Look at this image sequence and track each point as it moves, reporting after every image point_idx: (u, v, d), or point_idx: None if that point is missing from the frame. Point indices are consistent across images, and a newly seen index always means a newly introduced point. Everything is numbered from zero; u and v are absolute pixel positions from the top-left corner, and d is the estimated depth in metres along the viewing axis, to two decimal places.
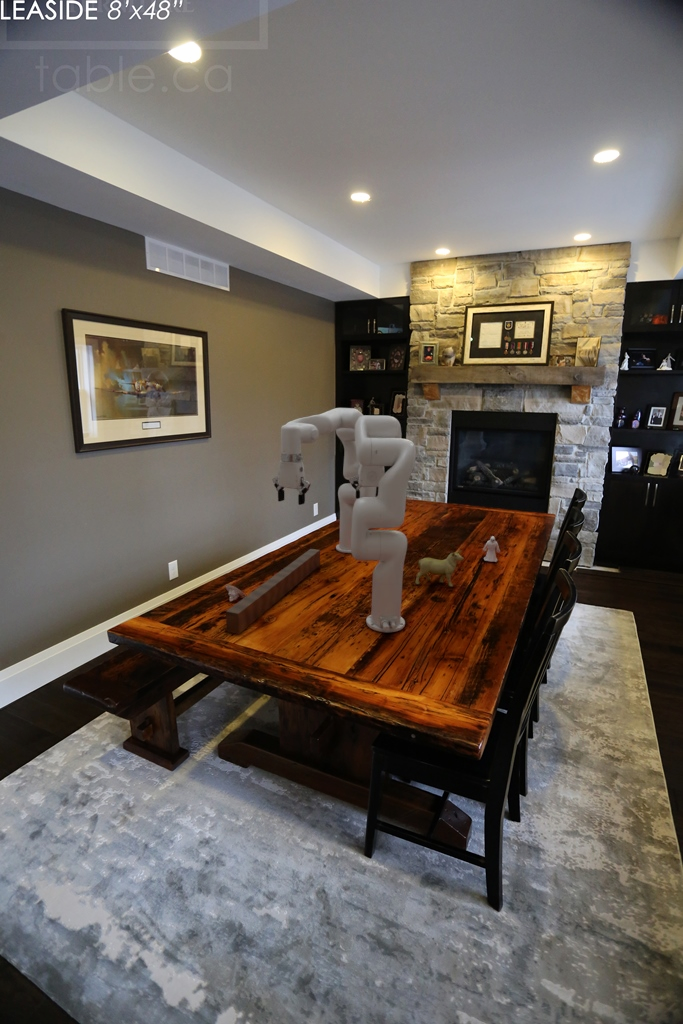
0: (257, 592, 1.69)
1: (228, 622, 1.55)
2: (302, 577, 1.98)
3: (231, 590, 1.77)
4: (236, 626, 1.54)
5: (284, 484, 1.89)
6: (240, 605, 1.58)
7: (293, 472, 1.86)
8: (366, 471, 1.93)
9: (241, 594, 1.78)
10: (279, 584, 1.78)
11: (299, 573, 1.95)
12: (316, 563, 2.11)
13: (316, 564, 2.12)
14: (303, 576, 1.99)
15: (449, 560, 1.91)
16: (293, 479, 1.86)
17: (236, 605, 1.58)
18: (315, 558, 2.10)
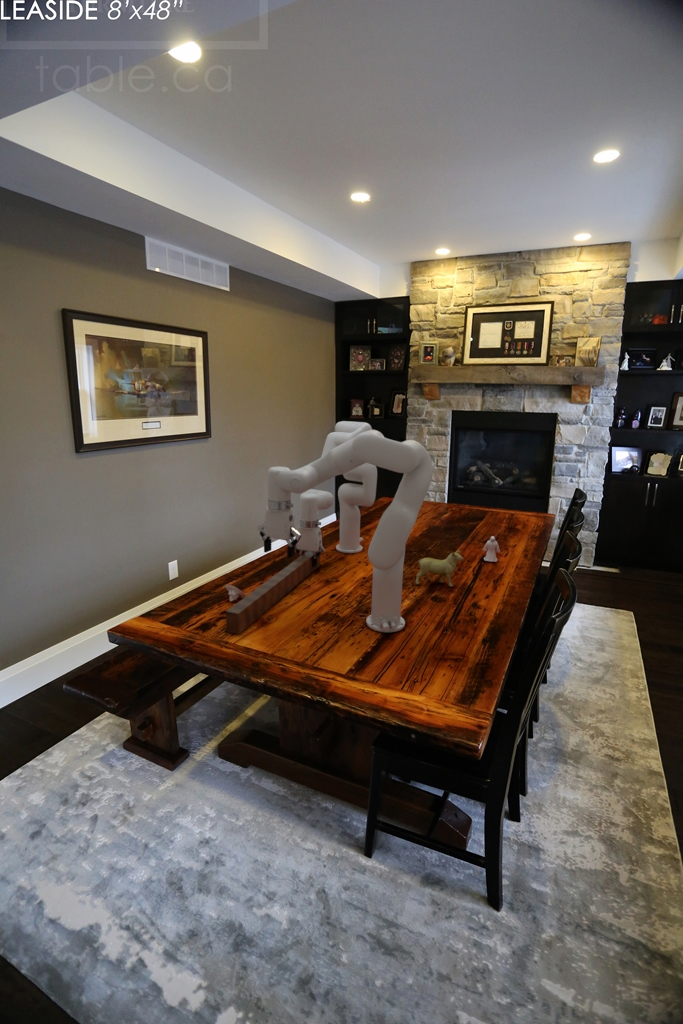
0: (257, 592, 1.69)
1: (228, 622, 1.55)
2: (302, 577, 1.98)
3: (231, 590, 1.77)
4: (236, 626, 1.54)
5: (303, 547, 2.05)
6: (240, 605, 1.58)
7: (313, 537, 2.03)
8: None
9: (241, 594, 1.78)
10: (279, 584, 1.78)
11: (299, 573, 1.95)
12: None
13: None
14: (303, 576, 1.99)
15: (449, 560, 1.91)
16: (313, 543, 2.03)
17: (236, 605, 1.58)
18: None
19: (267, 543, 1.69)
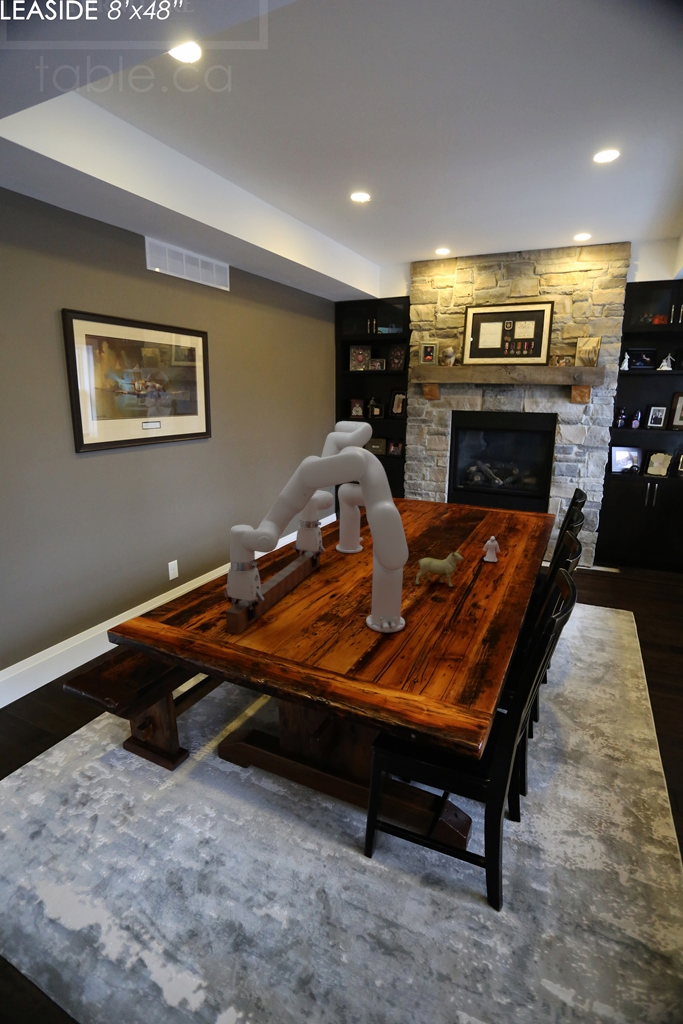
0: None
1: (228, 622, 1.55)
2: (302, 577, 1.98)
3: None
4: (236, 626, 1.54)
5: (303, 547, 2.05)
6: (240, 605, 1.58)
7: (313, 537, 2.03)
8: None
9: None
10: (279, 584, 1.78)
11: (299, 573, 1.95)
12: None
13: None
14: (303, 576, 1.99)
15: (449, 560, 1.91)
16: (312, 543, 2.03)
17: (236, 605, 1.58)
18: None
19: None
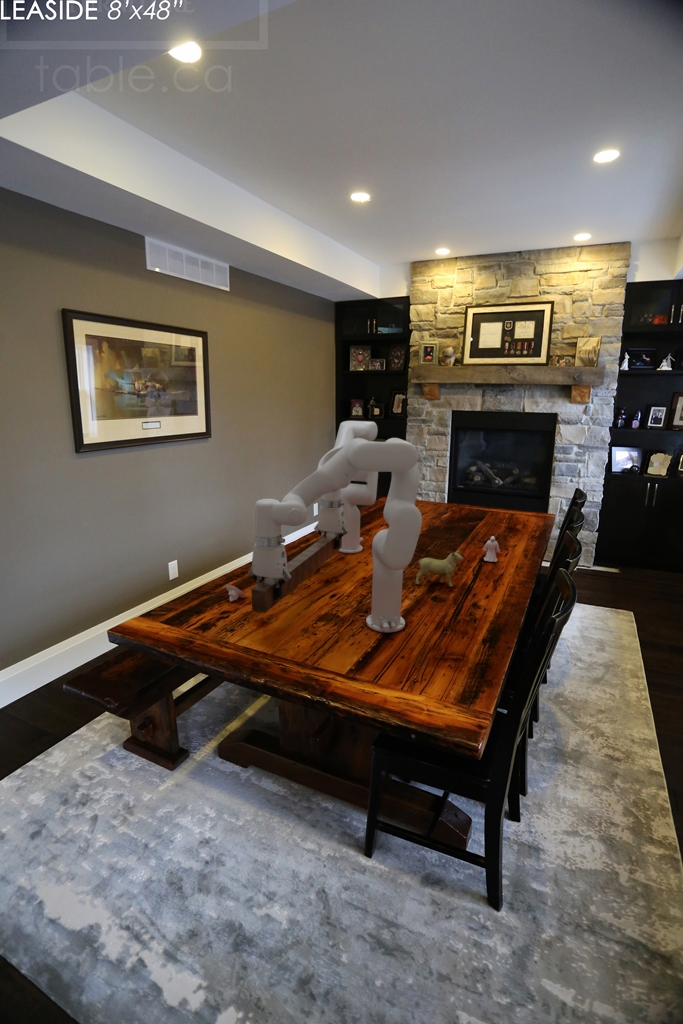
0: None
1: (254, 600, 1.47)
2: (325, 558, 1.91)
3: (231, 590, 1.77)
4: (262, 604, 1.47)
5: (325, 528, 1.98)
6: (266, 583, 1.51)
7: (335, 517, 1.95)
8: None
9: (241, 594, 1.78)
10: (303, 564, 1.71)
11: (322, 554, 1.88)
12: None
13: None
14: (326, 557, 1.92)
15: (449, 560, 1.91)
16: (335, 524, 1.96)
17: (261, 583, 1.51)
18: None
19: None
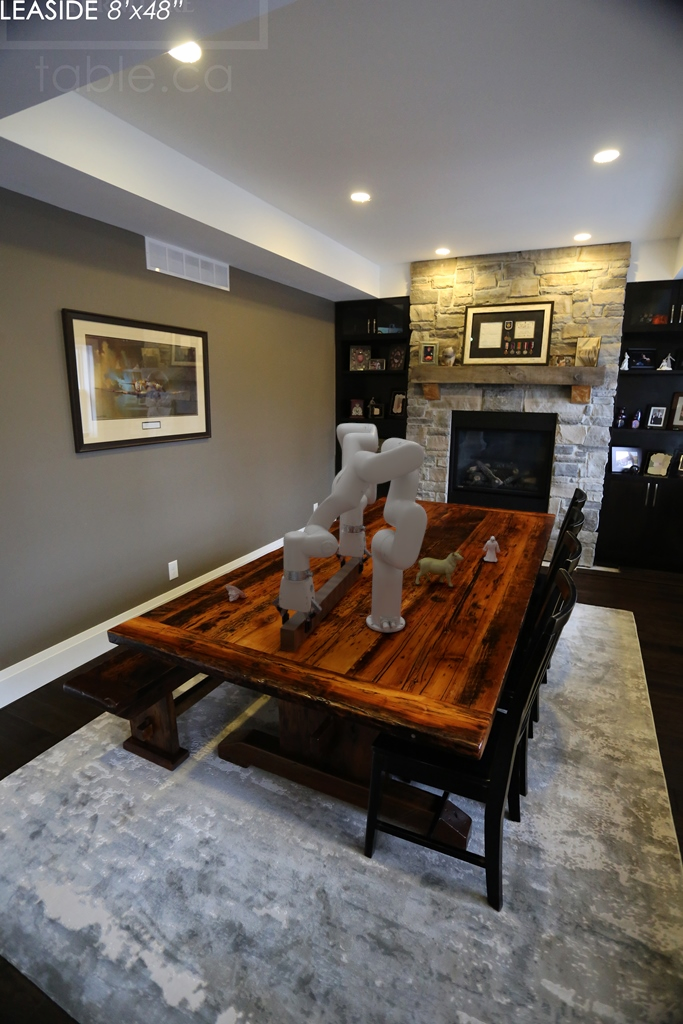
0: None
1: (282, 639, 1.45)
2: (347, 588, 1.88)
3: (231, 590, 1.77)
4: (291, 643, 1.44)
5: (346, 553, 1.95)
6: (294, 620, 1.49)
7: (357, 542, 1.92)
8: None
9: (241, 594, 1.78)
10: (328, 597, 1.68)
11: (345, 584, 1.85)
12: None
13: None
14: (348, 586, 1.89)
15: (449, 560, 1.91)
16: (357, 549, 1.93)
17: (289, 621, 1.48)
18: None
19: (286, 619, 1.50)
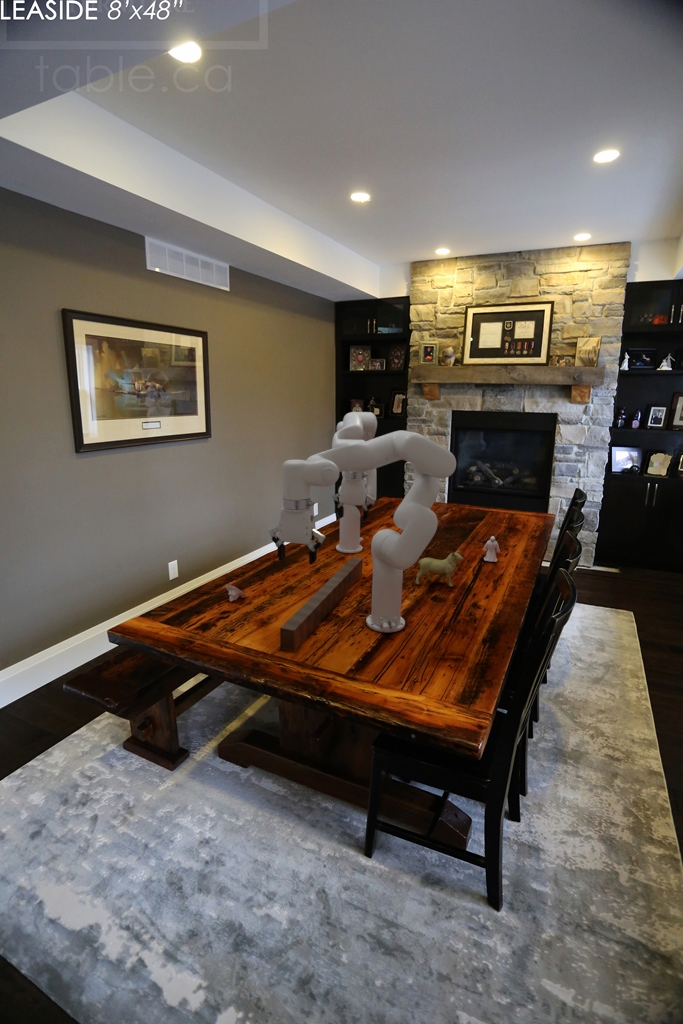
0: (309, 606, 1.59)
1: (282, 639, 1.45)
2: (347, 588, 1.88)
3: (231, 590, 1.77)
4: (291, 643, 1.44)
5: (348, 501, 1.90)
6: (294, 620, 1.49)
7: (359, 489, 1.87)
8: None
9: (241, 594, 1.78)
10: (328, 597, 1.68)
11: (345, 584, 1.85)
12: (359, 572, 2.01)
13: (359, 573, 2.02)
14: (348, 586, 1.89)
15: (449, 560, 1.91)
16: (359, 496, 1.88)
17: (289, 621, 1.48)
18: (358, 567, 2.00)
19: (282, 549, 1.46)
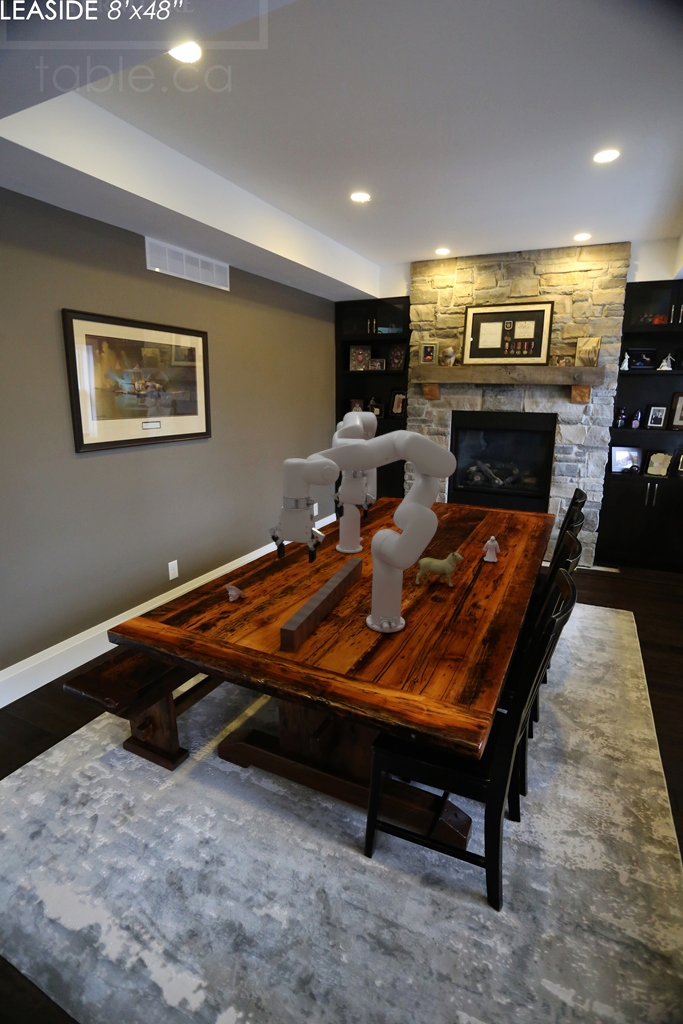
0: (309, 606, 1.59)
1: (282, 639, 1.45)
2: (347, 588, 1.88)
3: (231, 590, 1.77)
4: (291, 643, 1.44)
5: (348, 500, 1.90)
6: (294, 620, 1.49)
7: (359, 488, 1.87)
8: None
9: (241, 594, 1.78)
10: (328, 597, 1.68)
11: (345, 584, 1.85)
12: (359, 572, 2.01)
13: (359, 573, 2.02)
14: (348, 586, 1.89)
15: (449, 560, 1.91)
16: (359, 495, 1.88)
17: (289, 621, 1.48)
18: (358, 567, 2.00)
19: (281, 548, 1.45)
